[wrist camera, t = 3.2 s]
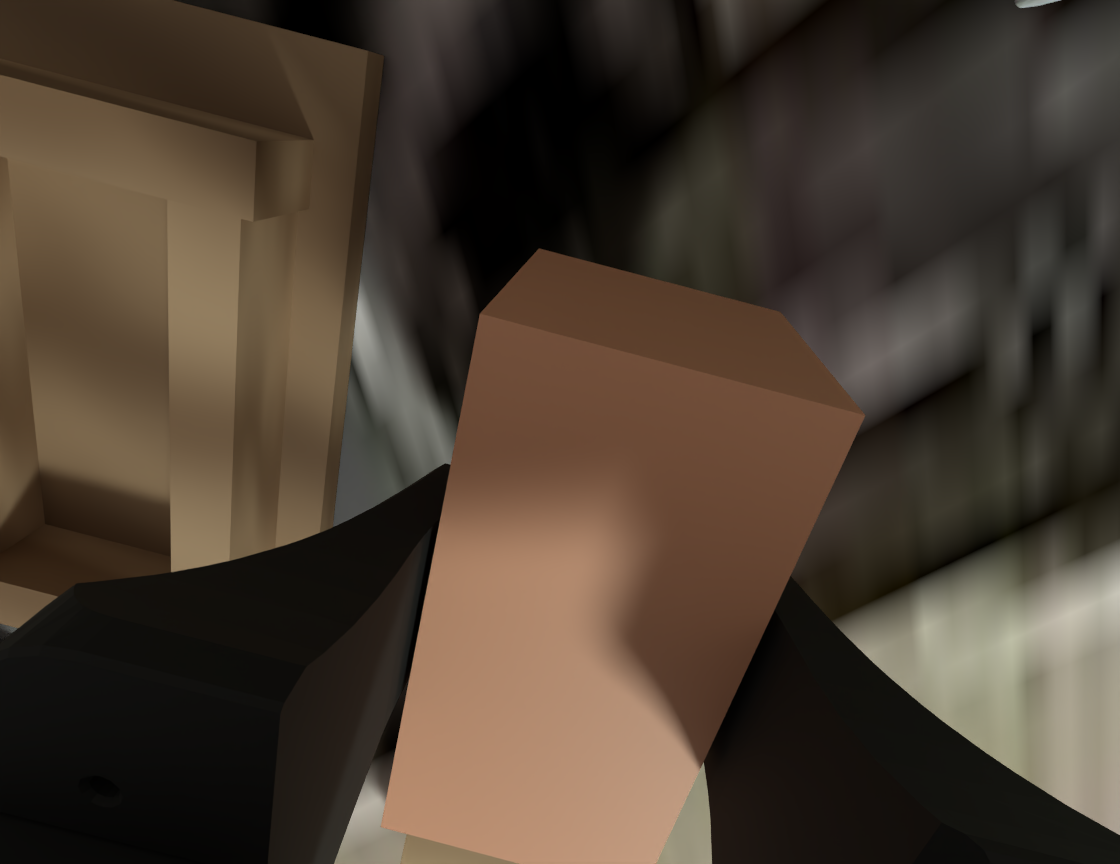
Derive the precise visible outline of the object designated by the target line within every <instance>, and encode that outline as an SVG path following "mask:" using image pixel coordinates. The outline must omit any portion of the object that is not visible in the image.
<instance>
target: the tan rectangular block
mask: <svg viewBox="0 0 1120 864" xmlns="http://www.w3.org/2000/svg"><path fill="white" fill-rule="evenodd" d="M864 417H865V414H864V413H863V412H862V411H861V410H860V408H859V407H858V406H857V405H856V403H855V402H854V401H853V400H852V399H851V397H850V396H849V395H848V394H847V393H846V391H845V390H844V389H843V388H842V386H841V385H840V384H839V383H838V382H837V380H836V379H835V378H834V377H833V375H832V374H831V373H830V372H829V371H828V369H827V368H826V367H825V366H824V365H823V363H822V362H821V361H820V360H819V358H818V357H817V356H816V355H815V354H814V352H813V351H812V350H811V349H810V347H809V346H808V345H807V344H806V343H805V341H804V340H803V339H802V338H801V337H800V335H799V334H798V333H797V332H796V330H795V329H794V328H793V327H792V326H791V324H790V323H789V322H788V321H787V319H786V318H785V317H784V316H783V315H782V313H781V312H778V311H774V310H771V309H767V308H763V307H759V306H756V305H752V304H748V303H744V302H740V301H737V300H733V299H729V298H725V297H721V296H718V295H714V294H710V293H706V292H702V291H699V290H695V289H691V288H687V287H683V286H680V285H676V284H672V283H668V282H665V281H661V280H657V279H653V278H649V277H646V276H642V275H638V274H634V273H630V272H627V271H623V270H619V269H615V268H611V267H608V266H604V265H600V264H596V263H592V262H589V261H585V260H581V259H577V258H573V257H570V256H566V255H562V254H558V253H555V252H551V251H547V250H543V249H538V250H537V251H536V252H535V253H534V255H533V256H532V257H531V258H530V259H529V260H528V261H527V262H526V263H525V264H524V266H523V267H522V268H521V269H520V270H519V271H518V272H517V273H516V274H515V275H514V277H513V278H512V279H511V280H510V281H509V282H508V283H507V284H506V285H505V287H504V288H503V289H502V290H501V291H500V292H499V293H498V294H497V295H496V296H495V298H494V299H493V300H492V301H491V302H490V303H489V304H488V305H487V306H486V307H485V309H484V310H483V311H482V312H481V313H480V316H479V321H478V326H477V331H476V337H475V342H474V347H473V352H472V357H471V362H470V368H469V373H468V378H467V383H466V388H465V393H464V399H463V404H462V409H461V414H460V419H459V425H458V430H457V435H456V440H455V445H454V450H453V456H452V461H451V466H450V471H449V476H448V482H447V487H446V492H445V497H444V502H443V507H442V513H441V518H440V523H439V528H438V533H437V538H436V544H435V549H434V554H433V559H432V564H431V570H430V575H429V580H428V585H427V590H426V595H425V601H424V606H423V611H422V616H421V621H420V626H419V632H418V637H417V642H416V647H415V652H414V658H413V663H412V668H411V673H410V678H409V683H408V689H407V694H406V699H405V704H404V709H403V715H402V720H401V725H400V730H399V735H398V740H397V746H396V751H395V756H394V761H393V766H392V771H391V777H390V782H389V787H388V792H387V797H386V803H385V808H384V813H383V818H382V823H381V827H382V828H386V829H390V830H394V831H397V832H401V833H405V834H409V835H413V836H416V837H420V838H424V839H428V840H431V841H435V842H439V843H443V844H447V845H450V846H454V847H458V848H462V849H465V850H469V851H473V852H477V853H481V854H484V855H488V856H492V857H496V858H499V859H503V860H507V861H511V862H515V863H518V864H656V863H657V861H658V858H659V856H660V854H661V852H662V850H663V848H664V846H665V843H666V841H667V839H668V837H669V835H670V833H671V831H672V828H673V826H674V824H675V822H676V820H677V818H678V816H679V813H680V811H681V809H682V807H683V805H684V803H685V801H686V798H687V796H688V794H689V792H690V790H691V788H692V786H693V783H694V781H695V779H696V777H697V775H698V773H699V771H700V768H701V766H702V764H703V762H704V760H705V758H706V756H707V753H708V751H709V749H710V747H711V745H712V743H713V741H714V738H715V736H716V734H717V732H718V730H719V728H720V726H721V723H722V721H723V719H724V717H725V715H726V713H727V711H728V708H729V706H730V704H731V702H732V700H733V698H734V696H735V693H736V691H737V689H738V687H739V685H740V683H741V681H742V678H743V676H744V674H745V672H746V670H747V668H748V665H749V663H750V661H751V659H752V657H753V655H754V653H755V650H756V648H757V646H758V644H759V642H760V640H761V638H762V635H763V633H764V631H765V629H766V627H767V625H768V623H769V620H770V618H771V616H772V614H773V612H774V610H775V608H776V605H777V603H778V601H779V599H780V597H781V595H782V593H783V590H784V588H785V586H786V584H787V582H788V580H789V578H790V575H791V573H792V571H793V569H794V567H795V565H796V563H797V560H798V558H799V556H800V554H801V552H802V550H803V548H804V545H805V543H806V541H807V539H808V537H809V535H810V533H811V530H812V528H813V526H814V524H815V522H816V520H817V518H818V515H819V513H820V511H821V509H822V507H823V505H824V503H825V500H826V498H827V496H828V494H829V492H830V490H831V488H832V485H833V483H834V481H835V479H836V477H837V475H838V473H839V470H840V468H841V466H842V464H843V462H844V460H845V458H846V455H847V453H848V451H849V449H850V447H851V445H852V443H853V440H854V438H855V436H856V434H857V432H858V430H859V428H860V425H861V423H862V421H863V419H864Z"/></svg>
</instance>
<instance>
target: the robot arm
mask: <svg viewBox="0 0 1120 864" xmlns="http://www.w3.org/2000/svg"><path fill="white" fill-rule="evenodd" d="M450 466H451V465H449V464H443V465H442V466H440V467H438V468H436V469H435V470H433V471H432V472H430V473H429V474H427V475H426V476H424V477H423V478H421V479H419V480H418V481H416V482H415V483H413V484H412V485H410V486H409V487H407V488H405V489H404V490H402V491H401V492H399V493H397V494H395V495H394V496H392V497H390V498H389V499H387V500H385V501H384V502H382V503H380V504H379V505H377V506H375V507H373V508H371V509H369V510H367V511H365V512H363V513H362V514H360V515H358V516H356V517H354V518H352V519H350V520H348V521H346V522H344V523H341V524H339V525H337V526H335V527H332V528H330V529H328V530H325V531H323V532H320V533H318V534H315V535H312V536H310V537H307V538H304V539H302V540H299V541H296V542H293V543H290V544H287V545H284V546H280V547H277V548H273V549H270V550H267V551H263V552H260V553H256V554H253V555H249V556H246V557H242V558H239V559H235V560H230V561H226V562H221V563H217V564H212V565H208V566H203V567H197V568H192V569H186V570H181V571H175V572H169V573H163V574H156V575H148V576H139V577H131V578H122V579H113V580H105V581H96V582H85V583H76V584H75V585H74V586H72V587H71V588H69V589H68V590H67V591H65V592H64V593H62V594H61V595H60V596H58V597H57V598H56V599H54V600H53V601H52V602H50V603H49V604H48V605H46V606H45V607H44V608H43V609H41V610H40V611H39V612H38V613H36V614H35V615H34V616H33V617H31V618H30V619H29V620H28V621H27V622H25V623H24V624H23V625H22V626H20V627H19V628H18V629H17V630H16V631H14V632H13V633H12V634H11V635H9V636H8V637H7V638H6V639H5V640H3V641H2V642H1V643H0V864H334V862H335V859H336V856H337V854H338V851H339V848H340V845H341V843H342V840H343V837H344V834H345V832H346V829H347V826H348V824H349V821H350V818H351V816H352V813H353V810H354V807H355V805H356V802H357V799H358V797H359V794H360V791H361V789H362V786H363V783H364V781H365V778H366V775H367V773H368V770H369V767H370V765H371V762H372V760H373V757H374V754H375V752H376V749H377V746H378V744H379V741H380V738H381V736H382V733H383V731H384V729H385V727H386V724H387V722H388V720H389V718H390V715H391V713H392V711H393V709H394V707H395V705H396V703H397V701H398V699H399V697H400V695H401V693H402V691H403V689H404V687H405V685H406V683H407V681H408V679H409V677H410V673H411V668H412V663H413V658H414V652H415V647H416V642H417V637H418V632H419V626H420V621H421V616H422V611H423V606H424V601H425V595H426V590H427V585H428V580H429V575H430V570H431V564H432V559H433V554H434V549H435V544H436V538H437V533H438V528H439V523H440V518H441V513H442V507H443V502H444V497H445V492H446V487H447V482H448V476H449V471H450ZM704 766H705V773H706V780H707V787H708V796H709V806H710V817H711V843H712V864H1120V835H1118V834H1116V833H1115V832H1113V831H1111V830H1109V829H1108V828H1106V827H1104V826H1102V825H1100V824H1099V823H1097V822H1095V821H1093V820H1092V819H1090V818H1088V817H1086V816H1085V815H1083V814H1081V813H1079V812H1077V811H1076V810H1074V809H1072V808H1070V807H1069V806H1067V805H1065V804H1064V803H1062V802H1061V801H1059V800H1057V799H1056V798H1054V797H1053V796H1051V795H1049V794H1048V793H1046V792H1045V791H1043V790H1042V789H1040V788H1038V787H1037V786H1035V785H1034V784H1032V783H1031V782H1029V781H1027V780H1026V779H1024V778H1023V777H1021V776H1020V775H1018V774H1016V773H1015V772H1013V771H1012V770H1010V769H1009V768H1007V767H1006V766H1004V765H1003V764H1001V763H1000V762H999V761H997V760H996V759H994V758H993V757H991V756H990V755H988V754H987V753H985V752H984V751H982V750H981V749H980V748H978V747H977V746H976V745H974V744H973V743H971V742H970V741H969V740H967V739H966V738H965V737H963V736H962V735H961V734H959V733H958V732H957V731H955V730H954V729H952V728H951V727H950V726H948V725H947V724H946V723H944V722H943V721H942V720H940V719H939V718H938V717H936V716H935V715H934V714H933V713H931V712H930V711H929V710H928V709H926V708H925V707H924V706H923V705H921V704H920V703H919V702H918V701H916V700H915V699H914V698H913V697H912V696H911V695H909V694H908V693H907V692H906V691H905V690H904V689H902V688H901V687H900V686H899V685H898V684H897V683H895V682H894V681H893V680H892V679H891V678H889V677H888V676H887V675H886V674H885V673H884V672H883V671H882V670H881V669H879V668H878V667H877V666H876V665H875V664H874V663H873V662H872V661H871V660H870V659H869V658H868V657H867V656H866V655H865V654H864V653H863V652H862V651H861V650H860V649H858V648H857V647H856V646H855V645H854V644H853V643H852V642H851V641H850V640H849V639H848V638H847V637H846V636H845V635H844V634H843V633H842V632H841V631H840V630H839V629H838V627H837V626H836V625H835V624H834V623H833V622H832V621H831V620H830V619H829V618H828V617H827V616H826V615H825V614H824V613H823V612H822V611H821V609H820V608H819V607H818V606H817V605H816V604H815V603H814V602H813V601H812V600H811V598H810V597H809V596H808V595H807V594H806V593H805V592H804V591H803V590H802V588H801V587H800V586H799V585H798V584H797V583H796V582H795V581H794V579H793V578H792V577H791V576H790V578H789V580H788V582H787V584H786V586H785V588H784V590H783V593H782V595H781V597H780V599H779V601H778V603H777V605H776V608H775V610H774V612H773V614H772V616H771V618H770V620H769V623H768V625H767V627H766V629H765V631H764V633H763V635H762V638H761V640H760V642H759V644H758V646H757V648H756V650H755V653H754V655H753V657H752V659H751V661H750V663H749V665H748V668H747V670H746V672H745V674H744V676H743V678H742V681H741V683H740V685H739V687H738V689H737V691H736V693H735V696H734V698H733V700H732V702H731V704H730V706H729V708H728V711H727V713H726V715H725V717H724V719H723V721H722V723H721V726H720V728H719V730H718V732H717V734H716V736H715V738H714V741H713V743H712V745H711V747H710V749H709V751H708V753H707V756H706V758H705V760H704Z"/></svg>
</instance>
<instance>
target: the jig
mask: <svg viewBox="0 0 1120 864" xmlns="http://www.w3.org/2000/svg"><path fill="white" fill-rule="evenodd" d="M383 62H384V56H383V55H380V54H376V53H373V52H370V51H366V50H363V49H359V48H355V47H351V46H347V45H343V44H340V43H336V42H332V41H328V40H324V39H320V38H316V37H313V36H309V35H305V34H301V33H297V32H293V31H289V30H286V29H282V28H278V27H274V26H270V25H266V24H262V23H259V22H255V21H251V20H247V19H243V18H239V17H236V16H232V15H228V14H224V13H220V12H216V11H212V10H209V9H205V8H201V7H197V6H193V5H189V4H185V3H182V2H178V1H174V0H0V623H1V624H4V625H8V626H12V627H16V628H19V627H20V626H22V625H23V624H24V623H25V622H27V621H28V620H29V619H30V618H31V617H33V616H34V615H35V614H36V613H38V612H39V611H40V610H41V609H43V608H44V607H45V606H46V605H48V604H49V603H50V602H52V601H53V600H54V599H56V598H57V597H58V596H60V595H61V594H62V593H64V592H65V591H67V590H68V589H69V588H71V587H72V586H74V585H75V584H76V583H85V582H96V581H105V580H113V579H122V578H131V577H139V576H148V575H156V574H163V573H169V572H175V571H181V570H186V569H192V568H197V567H203V566H208V565H212V564H217V563H221V562H226V561H230V560H235V559H239V558H242V557H246V556H249V555H253V554H256V553H260V552H263V551H267V550H270V549H273V548H277V547H280V546H284V545H287V544H290V543H293V542H296V541H299V540H302V539H304V538H307V537H310V536H312V535H315V534H318V533H320V532H323V531H325V530H328V529H330V528H332V527H333V519H334V510H335V501H336V492H337V483H338V474H339V464H340V455H341V446H342V437H343V428H344V419H345V410H346V400H347V391H348V382H349V373H350V364H351V355H352V346H353V337H354V327H355V318H356V309H357V300H358V291H359V282H360V273H361V263H362V254H363V245H364V236H365V227H366V218H367V209H368V199H369V190H370V181H371V172H372V163H373V154H374V145H375V136H376V126H377V117H378V108H379V99H380V90H381V81H382V72H383Z"/></svg>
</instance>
